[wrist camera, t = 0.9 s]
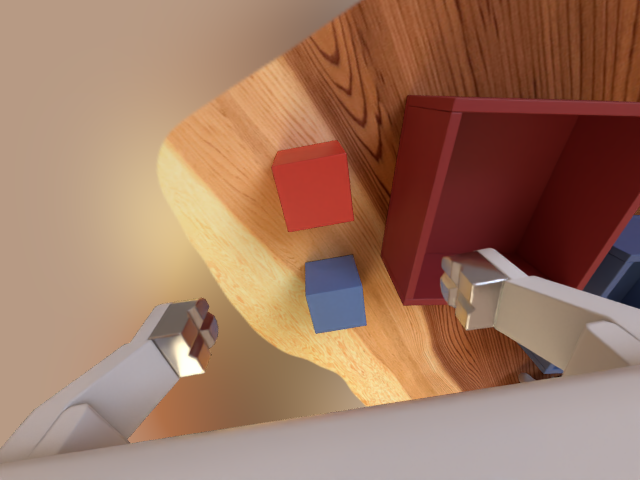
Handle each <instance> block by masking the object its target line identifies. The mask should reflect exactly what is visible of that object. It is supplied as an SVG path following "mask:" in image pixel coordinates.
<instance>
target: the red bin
mask: <svg viewBox="0 0 640 480" xmlns="http://www.w3.org/2000/svg"><path fill="white" fill-rule="evenodd" d="M639 206H640V102H619V101H592V100H559V99H523V98H488V97H453V96H417V95H408V96H407V101H406V107H405V113H404V119H403V125H402V131H401V137H400V143H399V149H398V155H397V161H396V167H395V173H394V179H393V184H392V190H391V196H390V202H389V208H388V214H387V220H386V226H385V232H384V238H383V244H382V250H381V258H382V261H383V263H384V265H385V267H386V269H387V271H388V273H389V276H390V278H391V280H392V282H393V284H394V286H395V288H396V291H397V293H398V295H399V297H400V299H401V301H402V303H403V305H404V306H408V305H448V304H447V302H446V301H445V299H444V297H443V295H442V292H441V288H440V277H441V276H442V275H443V274H444V272H445V271H444V270H443V269H442V268H441V262H442V259H443V257H444V256H450V255H456V254H461V253H467V252H473V251H475V250H480V249H485V248H493V249H495V250H496V251H497V252H499V253H500V254H501V255H502V256H504V257H505V258H506V259H507V260H509V261H510V262H511V263H512V264H514V265H515V266H516V267H518V268H519V269H520V270H521V271H523V272H524V273H525V274H526V275H528V276H537V277H540V278H543V279H546V280H550V281H553V282H556V283H559V284H562V285H565V286H568V287H572V288H575V289H578V290H581V291H582V290H583V289H584V287H585V286H586V284H587V283H588V281H589V280H590V278H591V277H592V275H593V274H594V272H595V271H596V269H597V268H598V267H599V265H600V264H601V262H602V261H603V259H604V258H605V256H606V255H607V253H608V252H609V250H610V249H611V247H612V246H613V245H614V243H615V242H616V240H617V239H618V237H619V236H620V234H621V233H622V231H623V230H624V228H625V227H626V225H627V224H628V222H629V221H630V220H631V218H632V217H633V215H634V214H635V212H636V211H637V209H638V208H639Z"/></svg>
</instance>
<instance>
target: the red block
mask: <svg viewBox="0 0 640 480" xmlns="http://www.w3.org/2000/svg"><path fill="white" fill-rule="evenodd" d="M271 168H272V172H273V176H274V180H275V183H276V187H277V191H278V195H279V199H280V202H281V206H282V210H283V214H284V218H285V221H286V225H287V229H288V232H293V231H298V230H304V229H310V228H315V227H321V226H327V225H332V224H338V223H344V222H349V221H354V216H353V207H352V198H351V189H350V180H349V172H348V163H347V154H346V152H345V151H344V149H343V148H342V146H341V145H340V143H339V142H338V140H335V141H330V142H324V143H319V144H314V145H308V146H303V147H298V148H292V149H287V150H282V151H278V152H277V154H276V157H275V159H274V162H273V164H272V167H271Z"/></svg>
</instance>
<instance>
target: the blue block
mask: <svg viewBox="0 0 640 480" xmlns="http://www.w3.org/2000/svg"><path fill="white" fill-rule="evenodd" d="M305 292H306V299H307V303H308V307H309V311H310V315H311V318H312V322H313V326H314V330H315V333H316V334H317V333H323V332H329V331H335V330H342V329H348V328H354V327H360V326H366V325H367V324H366V315H365V306H364V297H363V288H362V284H361V280H360V277H359V274H358V270H357V267H356V264H355V260H354V257H353V255H347V256H342V257H336V258H330V259H324V260H318V261H313V262H307V263H305Z"/></svg>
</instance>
